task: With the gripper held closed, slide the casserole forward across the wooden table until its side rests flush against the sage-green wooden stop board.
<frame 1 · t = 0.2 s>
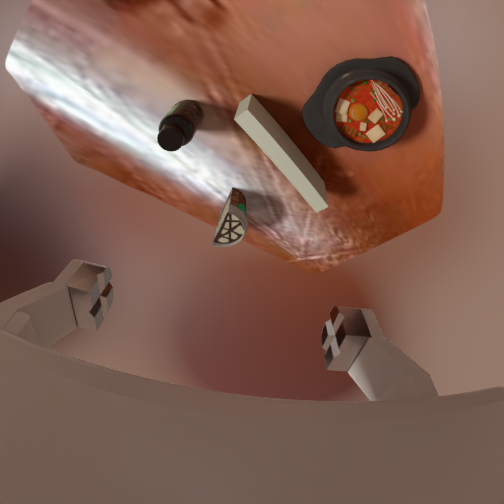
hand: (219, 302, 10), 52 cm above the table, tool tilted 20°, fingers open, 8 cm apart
stop board: (285, 143, 60), on the table
food container: (237, 205, 74), on the table
supplement bottle: (187, 113, 56), on the table
casserole: (360, 99, 51), on the table
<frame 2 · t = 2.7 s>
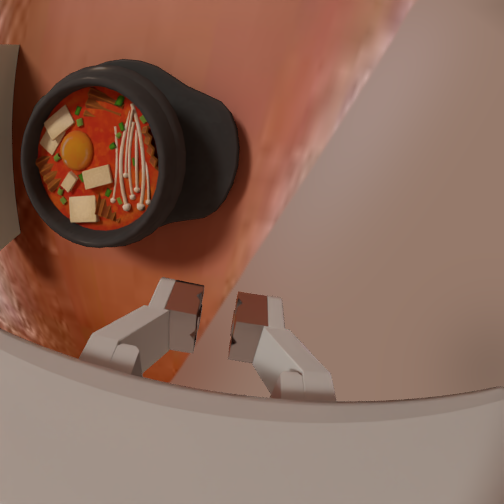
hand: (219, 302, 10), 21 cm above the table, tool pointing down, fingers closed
stop board: (5, 143, 26), on the table
casserole: (122, 146, 28), on the table
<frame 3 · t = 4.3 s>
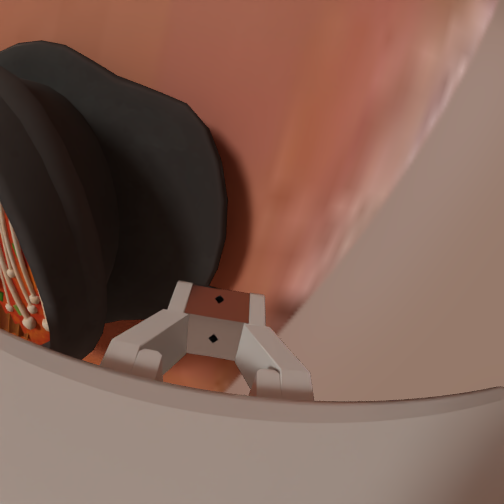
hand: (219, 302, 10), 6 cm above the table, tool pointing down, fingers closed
casserole: (37, 191, 15), on the table
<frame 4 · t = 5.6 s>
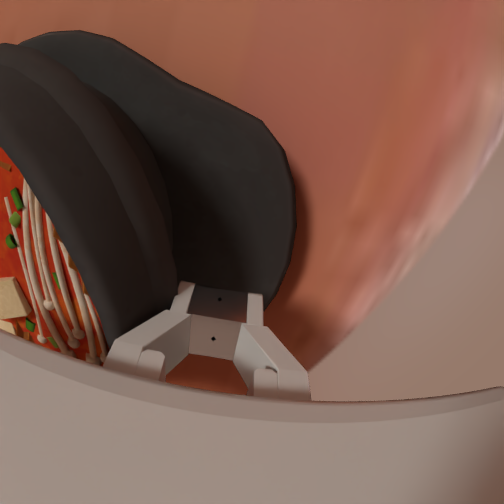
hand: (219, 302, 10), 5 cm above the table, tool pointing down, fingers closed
casserole: (63, 203, 14), on the table, touching gripper
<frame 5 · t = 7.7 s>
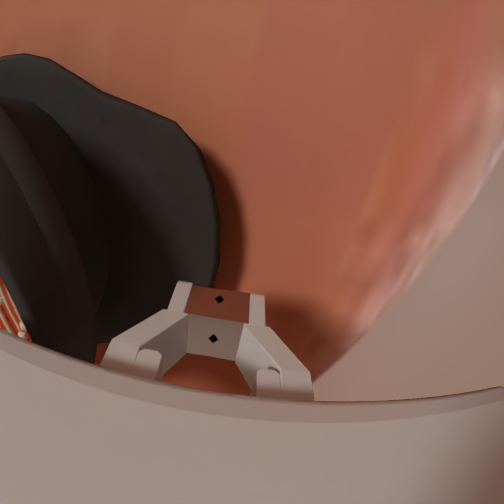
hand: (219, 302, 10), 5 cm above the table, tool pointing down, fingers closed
casserole: (26, 209, 14), on the table
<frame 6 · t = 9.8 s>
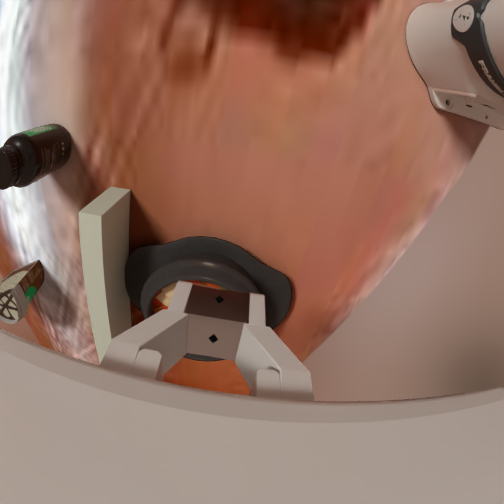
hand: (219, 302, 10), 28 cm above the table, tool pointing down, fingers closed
stop board: (120, 269, 43), on the table
food container: (33, 278, 45), on the table
supplement bottle: (55, 145, 34), on the table
casserole: (207, 285, 45), on the table
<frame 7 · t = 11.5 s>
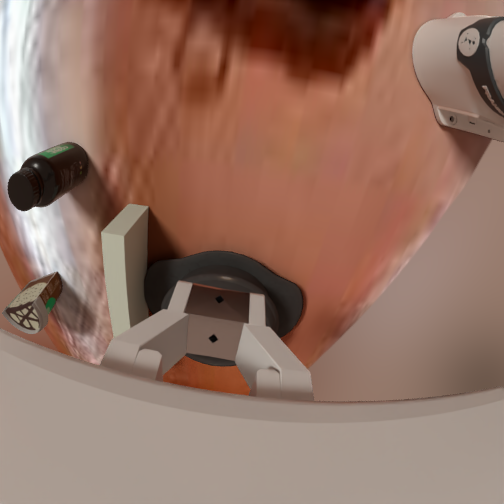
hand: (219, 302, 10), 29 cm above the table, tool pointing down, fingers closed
stop board: (138, 280, 46), on the table
food container: (51, 288, 48), on the table
supplement bottle: (71, 163, 36), on the table
casserole: (223, 295, 47), on the table
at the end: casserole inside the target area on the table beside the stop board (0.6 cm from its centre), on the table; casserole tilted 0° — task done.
